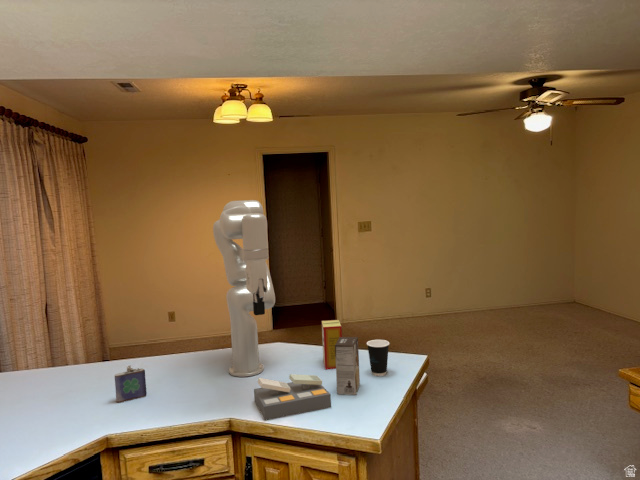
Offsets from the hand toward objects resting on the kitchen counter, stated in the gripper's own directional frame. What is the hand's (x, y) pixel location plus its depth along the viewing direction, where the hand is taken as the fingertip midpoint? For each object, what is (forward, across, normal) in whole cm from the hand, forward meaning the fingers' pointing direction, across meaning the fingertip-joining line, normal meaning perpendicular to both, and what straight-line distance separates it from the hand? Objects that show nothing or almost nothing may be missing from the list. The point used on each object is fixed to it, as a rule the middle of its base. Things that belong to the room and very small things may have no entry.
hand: (259, 314), depth 145 cm
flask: (+27, -20, -39) cm, 52 cm away
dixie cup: (+27, -4, +42) cm, 50 cm away
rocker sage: (+21, +6, +12) cm, 25 cm away
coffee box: (+27, +4, +27) cm, 39 cm away
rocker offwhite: (+21, +6, +2) cm, 22 cm away
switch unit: (+27, +7, +7) cm, 29 cm away
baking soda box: (+27, -20, +31) cm, 46 cm away
